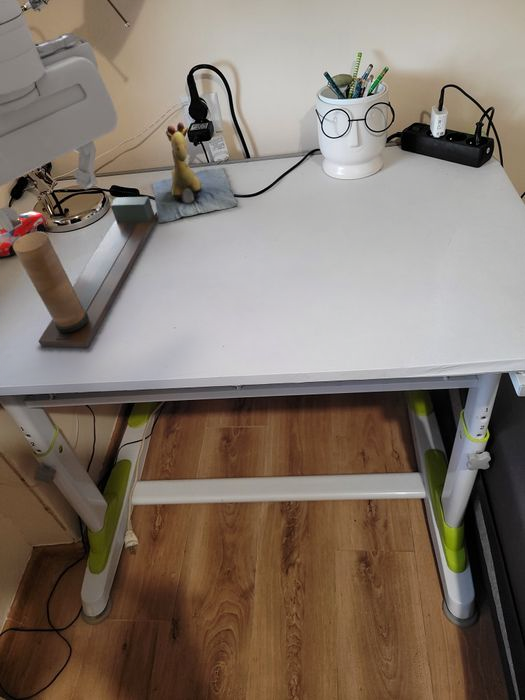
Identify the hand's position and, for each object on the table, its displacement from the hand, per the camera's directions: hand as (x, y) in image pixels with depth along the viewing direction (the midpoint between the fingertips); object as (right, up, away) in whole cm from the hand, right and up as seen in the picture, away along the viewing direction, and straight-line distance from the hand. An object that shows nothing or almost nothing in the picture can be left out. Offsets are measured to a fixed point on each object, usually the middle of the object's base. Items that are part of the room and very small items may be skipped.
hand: (52, 205), depth 54 cm
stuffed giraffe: (+7, +18, +54) cm, 58 cm away
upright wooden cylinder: (-8, -11, +27) cm, 30 cm away
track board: (-6, -2, +38) cm, 38 cm away
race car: (-27, +7, +49) cm, 57 cm away
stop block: (-3, +10, +49) cm, 50 cm away
